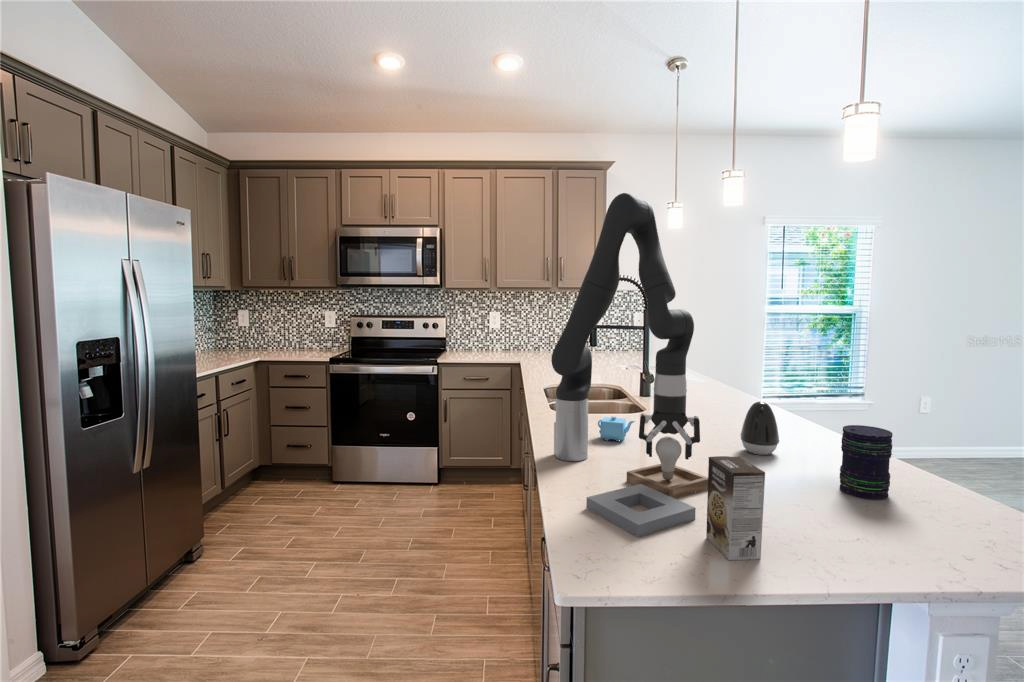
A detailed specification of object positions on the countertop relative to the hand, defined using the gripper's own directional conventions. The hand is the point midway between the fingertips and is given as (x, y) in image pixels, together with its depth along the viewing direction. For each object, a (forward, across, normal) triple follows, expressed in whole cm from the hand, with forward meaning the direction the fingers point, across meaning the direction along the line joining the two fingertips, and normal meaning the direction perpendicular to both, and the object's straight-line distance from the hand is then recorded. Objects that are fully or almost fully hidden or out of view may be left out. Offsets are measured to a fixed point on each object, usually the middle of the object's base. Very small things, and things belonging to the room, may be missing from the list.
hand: (668, 457), depth 129 cm
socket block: (+7, +6, +19) cm, 21 cm away
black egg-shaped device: (+7, -27, -34) cm, 44 cm away
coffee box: (+7, -11, +30) cm, 33 cm away
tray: (+7, 0, 0) cm, 7 cm away
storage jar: (+7, -45, -6) cm, 46 cm away
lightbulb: (+6, 0, 0) cm, 6 cm away
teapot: (+7, +15, -38) cm, 41 cm away
